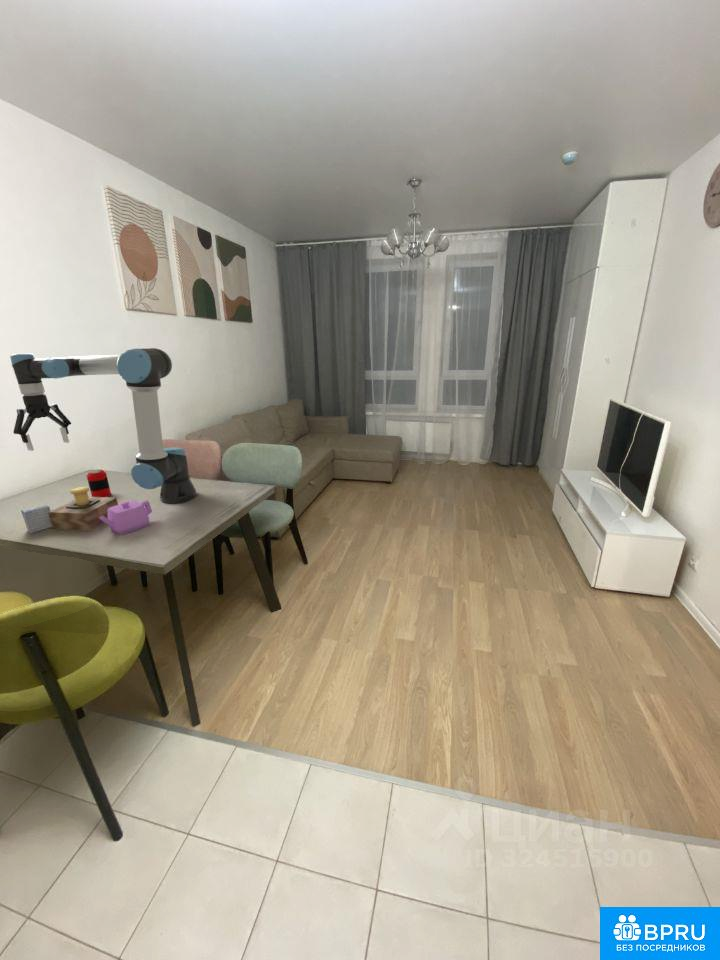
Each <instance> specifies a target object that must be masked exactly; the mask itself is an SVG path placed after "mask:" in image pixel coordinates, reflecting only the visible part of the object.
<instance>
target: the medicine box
mask: <svg viewBox="0 0 720 960" xmlns="http://www.w3.org/2000/svg"><path fill="white" fill-rule="evenodd" d="M50 511H51V508H50V506H49V505H48V504H46V503H43V504H38V505H34V506H32V507H28V508H24V509H21V515H22V518H23V521H24V523H25V526H26V529H27V531H28V532H29V533H30V534H33V533H38V532H40V531H44V530H46V529H49V528H53V527H52V524H51V520H50V517H49V514H48V512H50Z"/></svg>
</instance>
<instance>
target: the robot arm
mask: <svg viewBox="0 0 720 960" xmlns="http://www.w3.org/2000/svg"><path fill="white" fill-rule="evenodd" d="M9 357H10V358H9V359H10V362H11V368H12V369H13V372H14V375H15V378H16V381H17V386H18V388H19V391H20V394H21V395H22V396H21V397H22V400H23V401H22V402H23V403H24V404H23V405H24V406H25V407H24V408H17V409H16V413H17V415H16V419H15V423H14V428H13V434H15V435H20V438H21V440H22V443H23V444H25V445H26V447H27V450H28V451H31V452H32V451H34V450H35V449H34V445H33V443H32V440H31V439H32V438H31V437H30V434H29V433H28V431H29V429H30V428H31V426H32V424H33V422H34V421H35V420H36V419H41V418H49V419H50V420H51V421H53V422H54V423H56V424H57V425H59V432H60V435H61V437H62V441H63V443H70V440H69V437H68V436H69V434H70V433H69V430H68V427H69V425H71V424H72V422H71V421H70V420H69V418H68V417H67V416H66V415H65V414H64V413H63V412H62V410H60V408H59V406H58V404H56V403H51V404H49V401H48V397H47V395H46V394H45V392H46V391H45V387H44V384H43V379H62V378H68V377H77V376H101V375H102V376H103V375H104V376H105V375H119V376H120V377H121V378H122V380H124V381H125V382H126V383H125V384H126V387H127V388H128V389H129V390H130V391H131V395H132V402H133V411H134V413H133V414H134V420H135V428H136V435H137V443H138V444H137V445H138V450H139V451H138V452H137V453H136V454H135V464H134V465H133V466H132V468H131V471H130V473H131V474H130V476H131V478H132V479H133V481H134V483H135V484H137V485H138V487H140V488H142V489H145V490H155V489H157V488H160V487H161V488H160V493H159V497H160V502H162V503H164V504H180V503H184V502H187V501H191V500H193V499H195V498H196V497H197V496H198V495H197V490H196V488H195V486H194V484H193V482H192V480H191V477H190V472H189V466H188V461H187V460H188V459H187V454H186V451H185V449H184V448H182V447H164V445H163V443H164V442H163V435H162V426H161V418H160V417H161V416H160V407H159V395H158V390H159V389H160V388H161V387H162V383H161V379H164V378H166V377H167V376H169V375H170V374H171V371H172V368H173V363H172V359H171V357H170V355H169V354H168V353H167V352H166V351H164V350H163V349H159V348H156V347H155V348H153V347H151V348H131V349H126V350H123V352H122V353H121V354H112V355H109V354H108V355H107V354H106V355H85V356H79V355H78V356H67V357H66V356H65V357H63V356H62V357H61V356H60V357H46V358H45V357H44V358H43V357H42V358H36V357H35V354H33V353H13V354H11V355H10V356H9ZM50 411H53V412H54V413H55V414H56V415H57V416H55V415H54V414H53V413H52V412H50ZM26 413H27V417H26V420H25V415H26ZM58 417H59V418H58ZM24 420H25V422H24Z"/></svg>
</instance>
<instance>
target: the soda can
mask: <svg viewBox="0 0 720 960" xmlns="http://www.w3.org/2000/svg"><path fill="white" fill-rule="evenodd" d="M86 478H87V479H86V480H87V483H88V488H89V491H90V495H91V497H110V496H111V495H112V492H111V488H110V484H109V480H108V475H107V472H106V471H105V470H103V469H93V470H90V471H88V472H87V474H86Z"/></svg>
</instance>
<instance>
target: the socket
mask: <svg viewBox="0 0 720 960" xmlns="http://www.w3.org/2000/svg"><path fill="white" fill-rule="evenodd" d="M88 497H89V501H90V503H89V504H87V505H85V506H77V505H76V501H75V499H73V500H71V501H69V502H66V503H64V504H63V505H61V506H58V507H56V508H54V509H52V510H50V512H48V514H49V517H50V520H51V524H52V527H51V528H52V530H66V531H67V530H68V531H70V530H71V531H92V530H94V529H96V528H98V527H99V526H101V525H103V524H106V523H105V522H103V521H102V520H101V519H99V517H101V516H104V517H106V518H107V519H108V508H110V507H113V506H116V505H119V503H118V500H117V499H118V498H117V497H110V496H108V497H92V496H88Z"/></svg>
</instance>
